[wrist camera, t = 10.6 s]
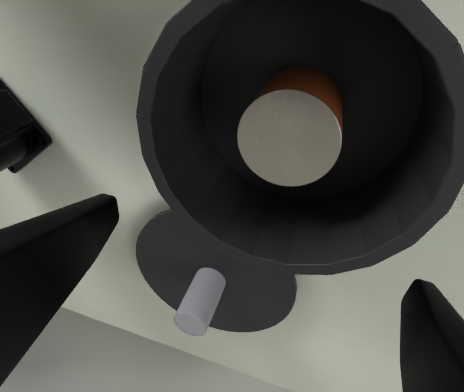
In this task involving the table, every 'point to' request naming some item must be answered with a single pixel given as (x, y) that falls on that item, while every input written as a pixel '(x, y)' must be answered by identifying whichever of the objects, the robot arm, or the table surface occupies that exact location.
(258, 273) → the lid
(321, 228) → the dark grey round container
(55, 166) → the table surface
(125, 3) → the table surface
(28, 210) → the table surface
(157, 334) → the table surface
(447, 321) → the robot arm
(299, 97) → the cylinder
